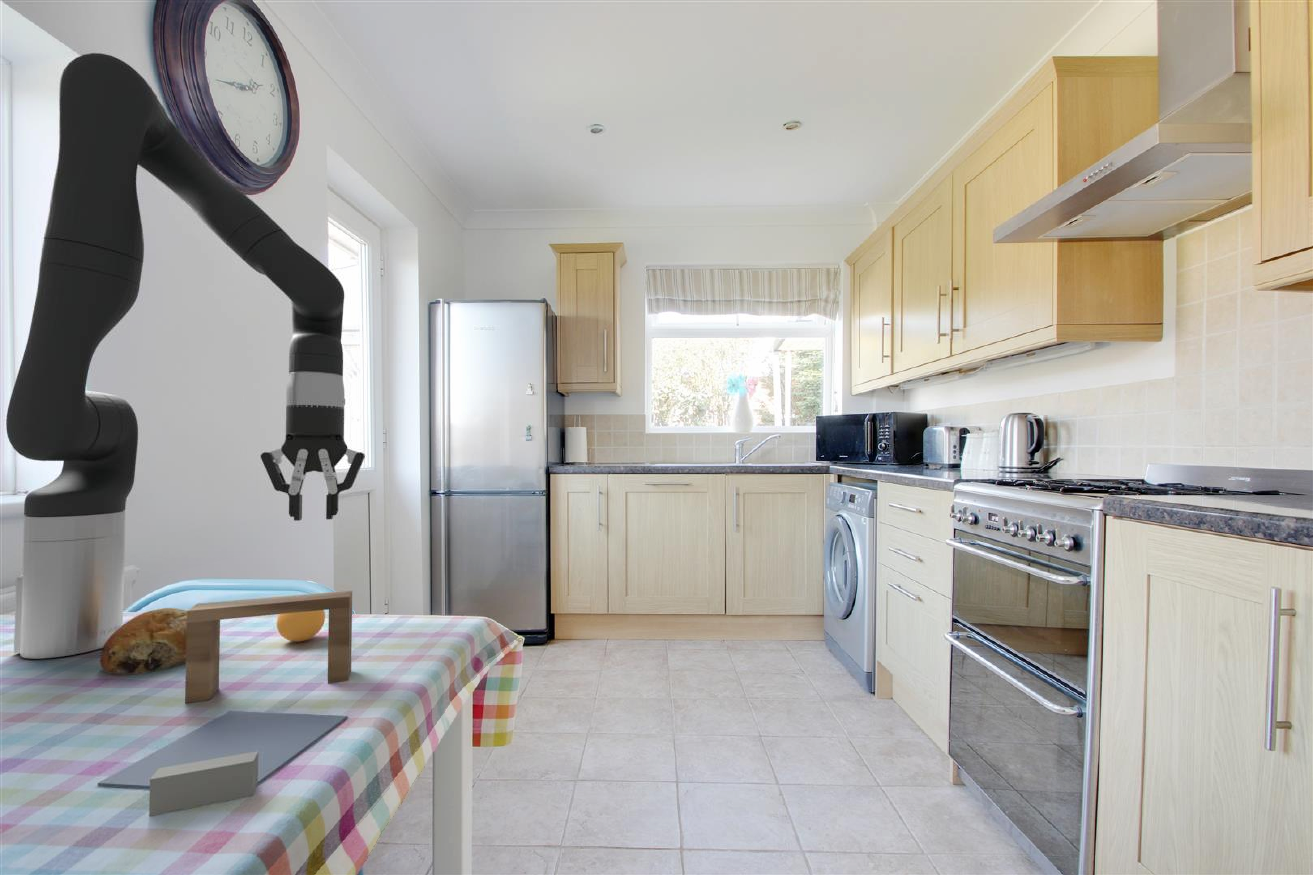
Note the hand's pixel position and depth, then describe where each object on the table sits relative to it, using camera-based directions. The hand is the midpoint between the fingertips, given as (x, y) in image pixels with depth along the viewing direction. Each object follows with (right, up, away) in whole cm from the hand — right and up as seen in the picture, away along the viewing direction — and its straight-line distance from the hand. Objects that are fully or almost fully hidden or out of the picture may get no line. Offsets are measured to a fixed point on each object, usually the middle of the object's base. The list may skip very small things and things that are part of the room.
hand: (314, 518), depth 85 cm
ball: (+4, -12, -9) cm, 16 cm away
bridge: (+10, -15, -24) cm, 30 cm away
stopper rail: (+19, -14, -44) cm, 50 cm away
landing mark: (+16, -14, -37) cm, 42 cm away
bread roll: (-9, -15, -16) cm, 24 cm away
